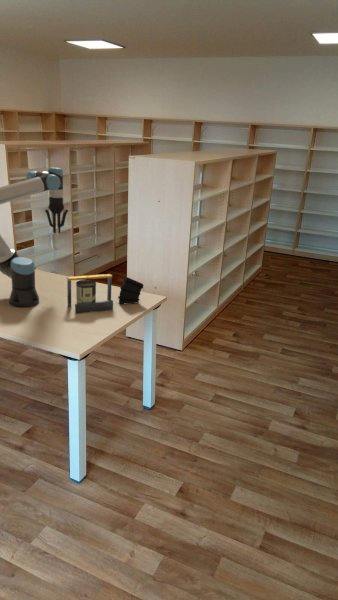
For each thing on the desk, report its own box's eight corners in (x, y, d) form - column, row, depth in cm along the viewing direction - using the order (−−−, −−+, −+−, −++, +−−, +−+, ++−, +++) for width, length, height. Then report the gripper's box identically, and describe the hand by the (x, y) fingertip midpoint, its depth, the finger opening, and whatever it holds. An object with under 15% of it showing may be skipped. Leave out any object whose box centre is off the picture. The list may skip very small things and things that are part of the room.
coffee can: (88, 302, 239) (88, 278, 234) (99, 308, 232) (100, 283, 227) (72, 306, 232) (72, 281, 227) (83, 312, 225) (83, 287, 220)
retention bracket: (72, 314, 222) (72, 283, 217) (67, 306, 232) (66, 276, 226) (116, 309, 233) (117, 280, 227) (109, 302, 242) (110, 273, 236)
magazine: (113, 300, 241) (125, 276, 239) (132, 307, 248) (144, 284, 245) (115, 302, 238) (127, 278, 236) (135, 310, 244) (147, 286, 242)
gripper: (66, 195, 246) (66, 236, 254) (42, 195, 240) (43, 237, 249) (69, 197, 240) (69, 239, 248) (45, 197, 234) (46, 240, 242)
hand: (56, 238), depth 248 cm, fingers closed
